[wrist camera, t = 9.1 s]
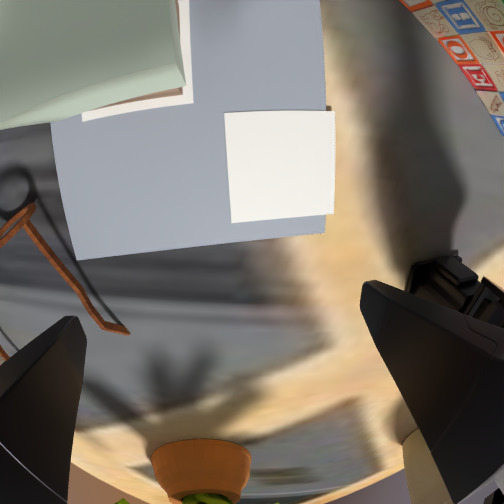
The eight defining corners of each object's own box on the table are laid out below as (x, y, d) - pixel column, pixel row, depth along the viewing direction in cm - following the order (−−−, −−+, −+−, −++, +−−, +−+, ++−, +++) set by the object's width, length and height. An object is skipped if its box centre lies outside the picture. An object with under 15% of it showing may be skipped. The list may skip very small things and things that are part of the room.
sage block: (186, 85, 12) (175, 62, 6) (57, 121, 11) (-21, 133, 6) (171, -30, 9) (160, -103, 4) (47, 9, 8) (-20, -28, 3)
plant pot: (447, 429, 46) (482, 485, 31) (383, 465, 46) (413, 527, 31) (459, 392, 39) (507, 459, 25) (383, 437, 39) (423, 515, 25)
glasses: (43, 192, 18) (9, 214, 14) (132, 329, 24) (123, 372, 20) (-42, 264, 19) (-71, 291, 14) (36, 368, 24) (21, 403, 20)
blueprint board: (330, 230, 23) (332, 232, 22) (78, 258, 20) (76, 260, 20) (322, -34, 14) (323, -36, 14) (52, -8, 12) (50, -9, 11)
